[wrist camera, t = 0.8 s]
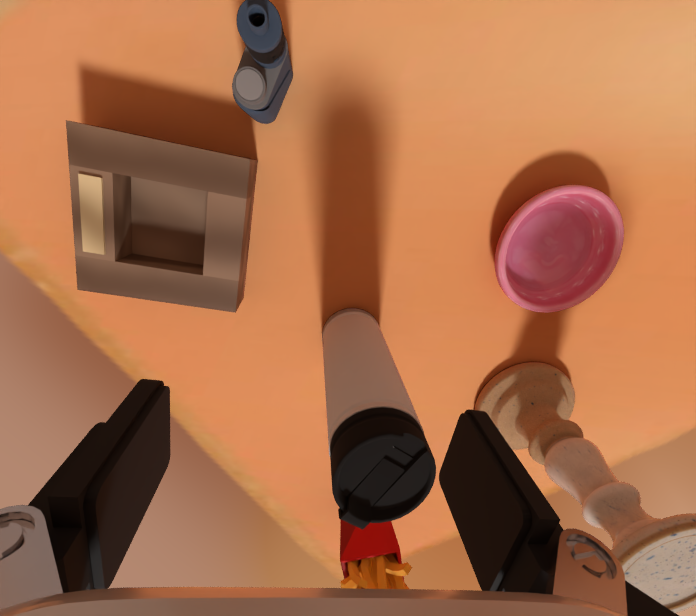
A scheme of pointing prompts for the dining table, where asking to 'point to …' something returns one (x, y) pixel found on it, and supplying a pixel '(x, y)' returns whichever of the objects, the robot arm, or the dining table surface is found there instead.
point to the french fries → (371, 557)
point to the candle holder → (593, 481)
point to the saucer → (559, 248)
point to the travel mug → (371, 425)
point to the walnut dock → (159, 218)
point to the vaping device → (262, 61)
